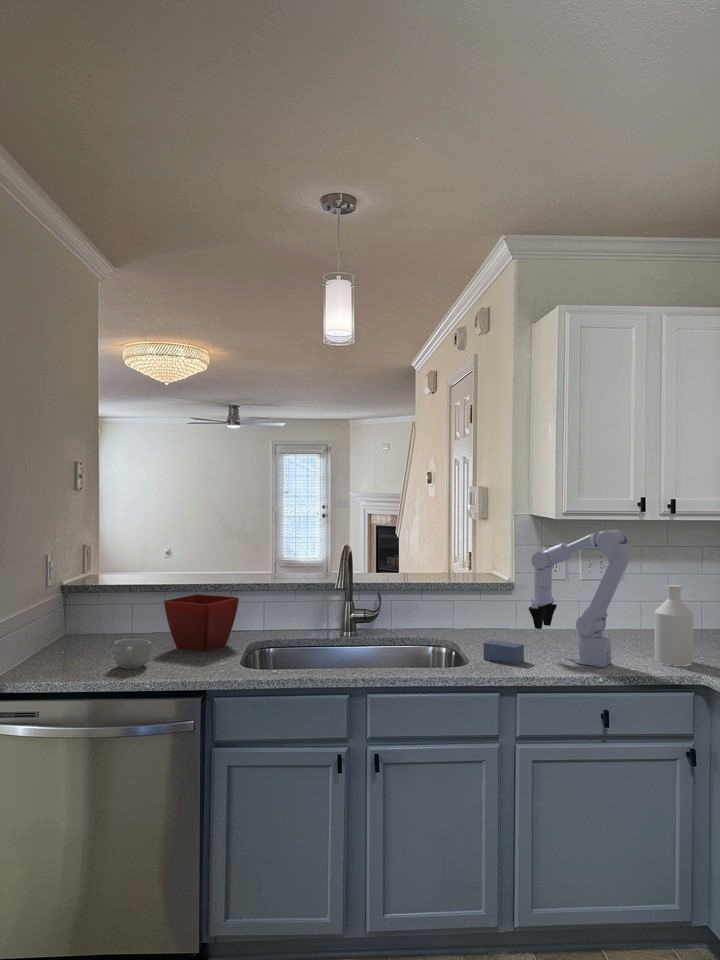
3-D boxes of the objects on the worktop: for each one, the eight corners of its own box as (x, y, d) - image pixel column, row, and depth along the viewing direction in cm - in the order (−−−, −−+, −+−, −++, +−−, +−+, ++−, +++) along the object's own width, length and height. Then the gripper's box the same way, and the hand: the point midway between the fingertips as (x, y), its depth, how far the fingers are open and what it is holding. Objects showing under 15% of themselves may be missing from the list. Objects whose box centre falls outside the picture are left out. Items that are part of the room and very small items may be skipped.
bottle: (694, 668, 237) (695, 588, 237) (654, 664, 241) (654, 586, 241) (692, 659, 248) (692, 584, 248) (653, 656, 252) (654, 582, 252)
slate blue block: (523, 661, 244) (523, 644, 244) (516, 664, 240) (516, 647, 240) (491, 656, 251) (491, 640, 251) (483, 659, 246) (483, 642, 247)
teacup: (121, 662, 239) (121, 637, 239) (155, 663, 239) (155, 637, 239) (105, 673, 225) (105, 646, 225) (140, 674, 225) (141, 647, 225)
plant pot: (196, 639, 276) (196, 593, 276) (239, 644, 268) (240, 597, 268) (162, 649, 258) (162, 600, 258) (207, 655, 250) (207, 604, 250)
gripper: (540, 583, 262) (540, 622, 262) (523, 588, 250) (522, 628, 250) (559, 585, 258) (559, 624, 258) (543, 590, 246) (542, 631, 246)
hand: (542, 627), depth 254 cm, fingers open, 7 cm apart
